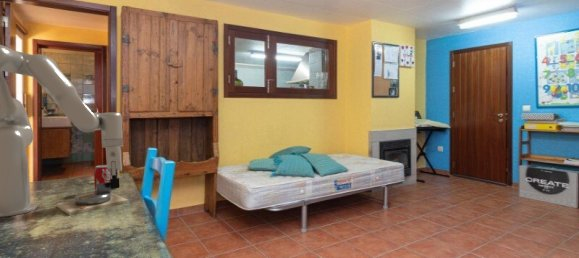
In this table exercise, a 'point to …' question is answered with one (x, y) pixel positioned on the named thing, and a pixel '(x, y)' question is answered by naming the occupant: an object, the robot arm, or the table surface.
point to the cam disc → (95, 195)
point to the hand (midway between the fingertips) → (115, 187)
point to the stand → (75, 209)
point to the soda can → (101, 175)
